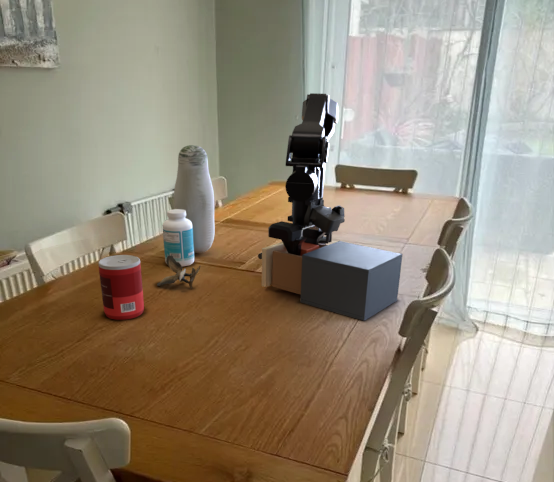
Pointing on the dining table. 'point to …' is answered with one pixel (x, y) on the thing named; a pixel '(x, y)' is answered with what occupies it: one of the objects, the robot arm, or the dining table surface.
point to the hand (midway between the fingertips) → (303, 263)
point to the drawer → (281, 268)
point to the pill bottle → (178, 237)
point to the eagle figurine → (178, 273)
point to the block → (308, 248)
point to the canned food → (121, 286)
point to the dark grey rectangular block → (350, 279)
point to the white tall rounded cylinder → (196, 195)
